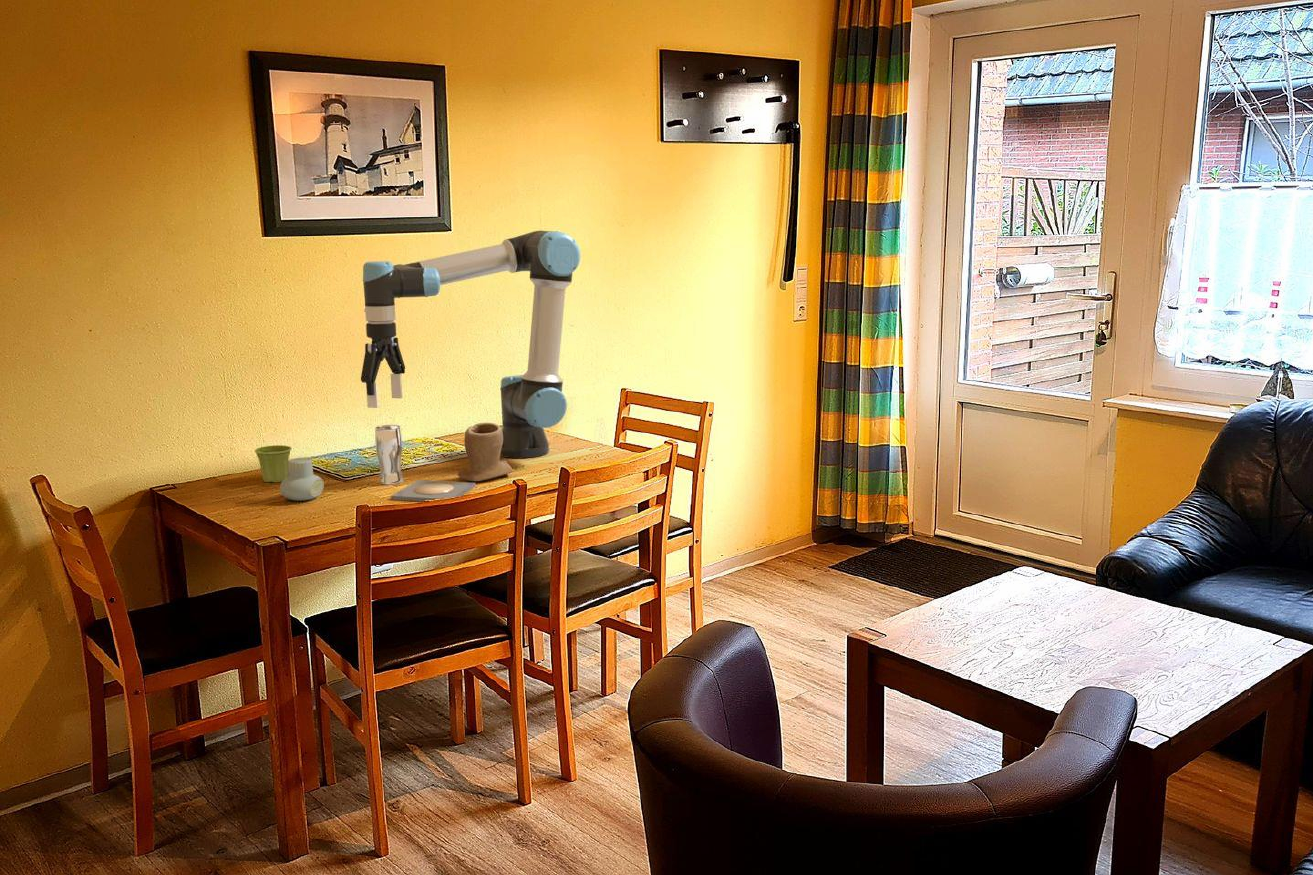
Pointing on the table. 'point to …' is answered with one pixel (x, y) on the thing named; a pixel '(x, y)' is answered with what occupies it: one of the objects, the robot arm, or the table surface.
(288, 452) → the plant pot
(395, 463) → the beer glass
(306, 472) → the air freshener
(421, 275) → the robot arm
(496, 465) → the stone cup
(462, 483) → the slate board
